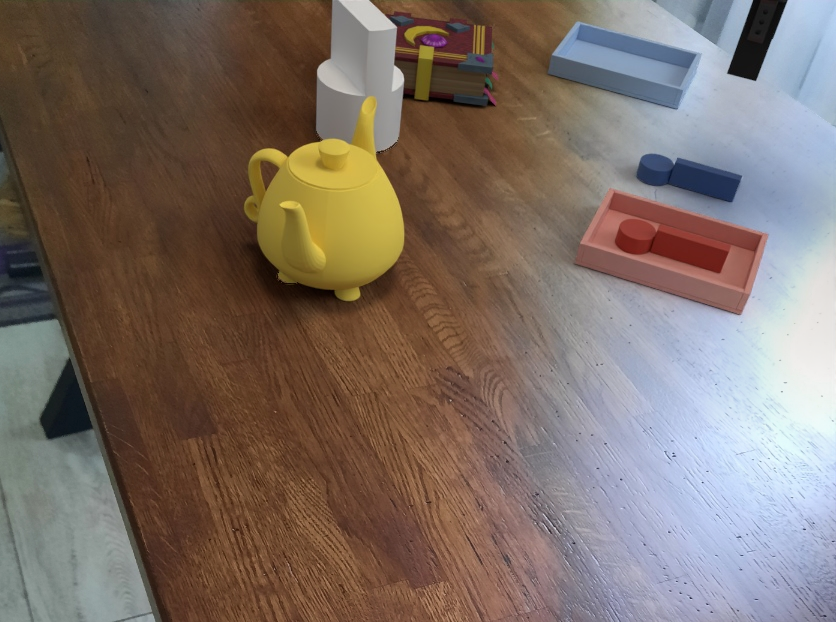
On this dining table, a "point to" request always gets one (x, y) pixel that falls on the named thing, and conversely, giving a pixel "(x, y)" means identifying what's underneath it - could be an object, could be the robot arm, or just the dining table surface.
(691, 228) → the pink tray
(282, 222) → the teapot
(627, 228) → the red spoon
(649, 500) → the dining table surface
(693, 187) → the blue spoon
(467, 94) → the decorative book
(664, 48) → the blue tray
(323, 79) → the base with upright slab
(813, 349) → the dining table surface
